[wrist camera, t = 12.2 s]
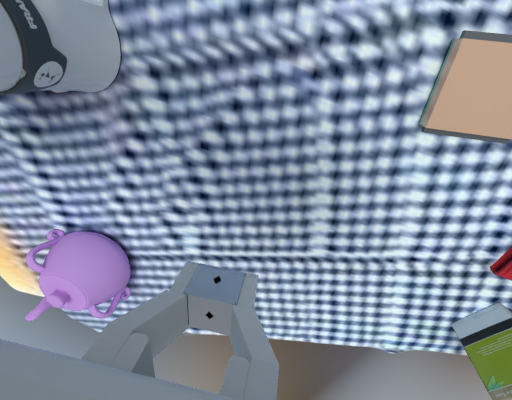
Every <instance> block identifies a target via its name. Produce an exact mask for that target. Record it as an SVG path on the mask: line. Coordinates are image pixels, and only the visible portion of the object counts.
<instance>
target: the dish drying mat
mask: <svg viewBox="0 0 512 400" xmlns="http://www.w3.org/2000/svg"><path fill="white" fill-rule="evenodd" d="M490 268H491V271H492V272H493V273H494V274H496V275H499V276H501V277H503V278H506V279H509V280H512V247H511V248H510V249H509V250H508V251H507V252H506V253H505V254H504V255H503V256H502V257H501V258H500V259H499V260H498V261H497V262H496V263H494V264H493V265H492V266H490Z"/></svg>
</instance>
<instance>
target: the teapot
mask: <svg viewBox="0 0 512 400" xmlns="http://www.w3.org/2000/svg"><path fill="white" fill-rule="evenodd" d="M53 234H55V235H57V238H55V237H53ZM47 238H48V239H49V240H51V241H48V242H45V243H43V244H40V245H38V246H36V247H34V248H33V249H31V250H30V251H29V253H28V254H27V257H26V262H27V264H28V266H29V267H30V268H31V269H32V270H34V271H36V272H39V273H40V278H39V286H40V289H41V291H42V292H43V294H44V295H45V297H44V298H43V299H42V301H41V302H40V303H39V304H38V305H37V307H35V308H34V309H33V310H32V311H31V312H30V313H29V314H28V315H27V316H26V318H25V319H26V321H32V320H34V319H36V318H37V317H38V316H40V315H41V314H42V313H44V312H45V311H46V310H48V309H49V308H50V307H52V306H54V307H56V308H64V309H67V310H71V311H81V310H84V309H88V310H89V312H90V314H91V315H92V316H94V317H96V318H106V317H108V316H110V315H111V314H112V313H113V312H114V310H115V309H116V307H117V305H118V302H119V300H125V299H127V298H128V297H129V296H130V289H129V288H128V287H127V286H126V285H127V284H128V282H129V279H130V275H131V270H130V264H129V260H128V257H127V255H126V253H125V252H124V251H123V249H122V248H121V247H120V246H119V245H118V244H117V243H116V242H114V241H113V240H111V239H110V238H108V237H106V236H104V235H102V234H99V233H95V232H87V231H77V232H72V233H69V234H66V235H65V233H64V232H63V231H62V230H59V229H53V230H51V231H49V233H48V234H47ZM52 245H54V246H53V247H52V248H51V250H50V251H49V253H48V255H47V257H46V259H45V261H44V264H43V266H41V265H39V264H38V263H37V262H36V261H35V259H34V255H35V254H36V253H37V252H39V251H40V250H42V249H45V248H47V247H50V246H52ZM123 292H124V296H123V295H122V293H123ZM112 297H114V298H113V301H112V303H111V305H110V307H109V309H108V310H107V311H106V312H105V313H102V312H100V311H99V310H98V309H97V308H96V305H98V304H101V303H103V302H105V301H107V300H109V299H111V298H112Z"/></svg>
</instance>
